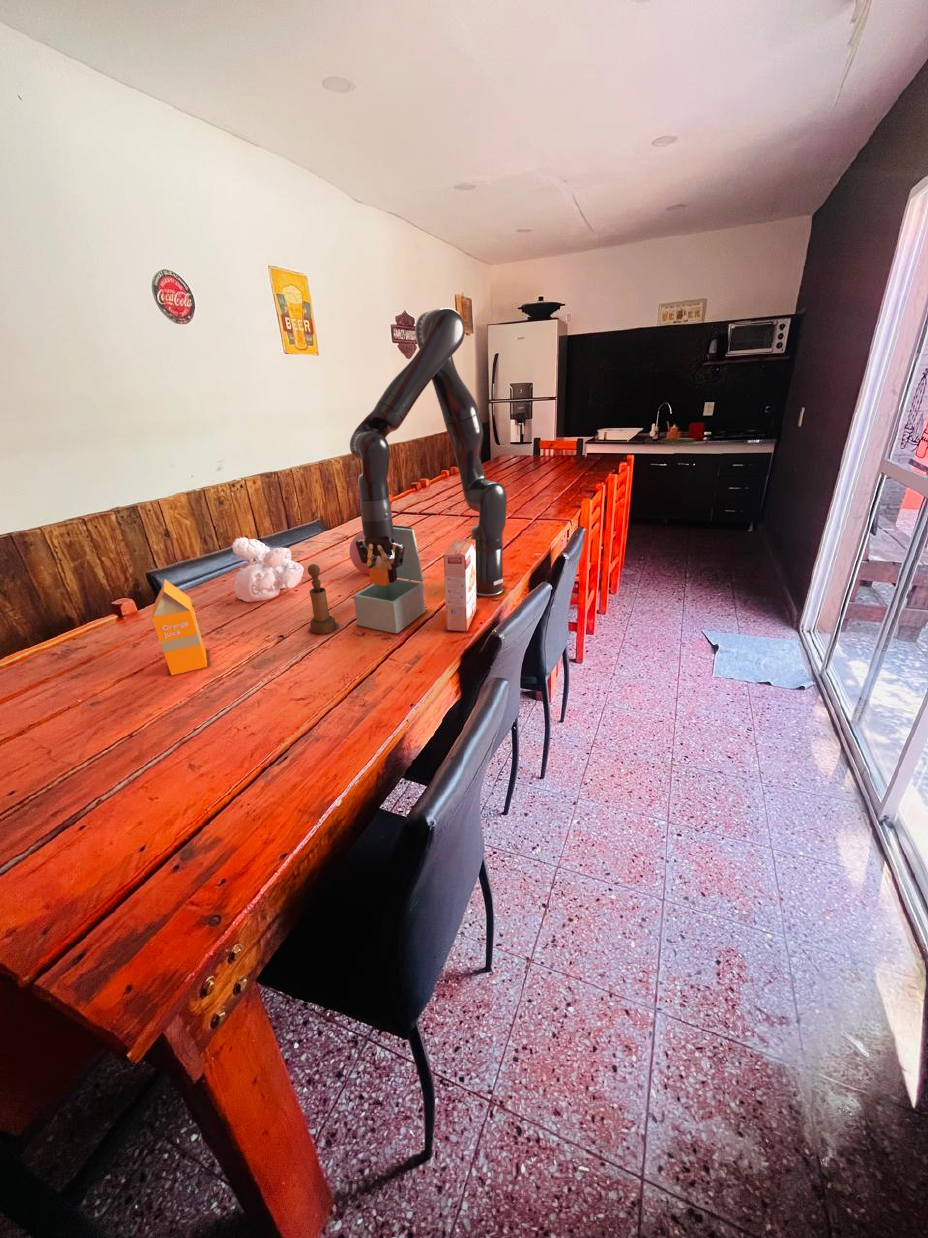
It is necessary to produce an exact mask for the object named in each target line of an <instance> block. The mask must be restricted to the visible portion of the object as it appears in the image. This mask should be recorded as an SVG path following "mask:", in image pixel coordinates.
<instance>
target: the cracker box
mask: <svg viewBox="0 0 928 1238" xmlns="http://www.w3.org/2000/svg"><path fill="white" fill-rule="evenodd" d="M443 571H444V572H443V574H444V575H443V576H444V577H443V579H444V593H445V594H444V600H445V626H446V631H452V632H453V631H454V632H465V633H466V632H467V633H468V630H469V628H470V626H471V623H472V620H473V618H474V616H475V613H476V611H477V595H476V540H474V539H471V538H455V539H454V540H453V541H452V543H451V544H450V545H449V547H448V548H447V550H446V551H445V552H444V553H443Z"/></svg>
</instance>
